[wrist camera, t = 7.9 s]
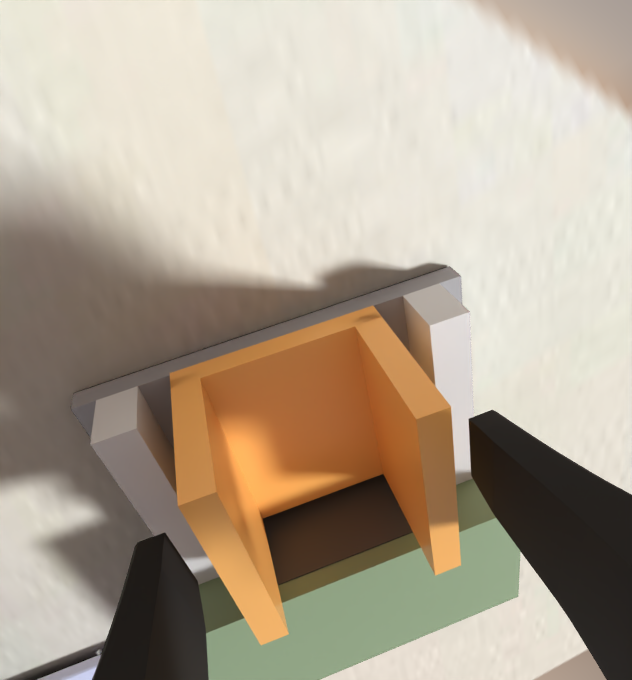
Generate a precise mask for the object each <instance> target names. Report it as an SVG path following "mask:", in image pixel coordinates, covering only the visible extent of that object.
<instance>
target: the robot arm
mask: <svg viewBox="0 0 632 680" xmlns="http://www.w3.org/2000/svg"><path fill="white" fill-rule="evenodd" d="M469 440H470V462H471V476H472V478H473V480H474V481H475V483H476V485H477V487H478V488H479V490H480V492H481V494H482V495H483V497H484V499H485V501H486V502H487V504H488V506H489V507H490V509H491V511H492V512H493V514H494V516H495V517H496V518H497V520H498V521H499V523H500V524H501V525H502V527H503V528H504V529H505V531H506V532H507V533H508V535H509V536H510V538H511V539H512V540H513V542H514V543H515V544H516V546H517V547H518V548H519V550H520V551H521V552H522V554H523V555H524V557H525V558H526V559H527V561H528V562H529V563H530V565H531V566H532V567H533V569H534V570H535V571H536V573H537V574H538V575H539V577H540V578H541V579H542V581H543V582H544V584H545V585H546V586H547V588H548V589H549V590H550V592H551V593H552V594H553V596H554V597H555V598H556V600H557V601H558V603H559V604H560V606H561V607H562V608H563V610H564V611H565V613H566V614H567V616H568V617H569V619H570V620H571V622H572V623H573V625H574V627H575V628H576V630H577V632H578V633H579V635H580V637H581V638H582V640H583V641H584V643H585V645H586V646H587V648H588V650H589V651H590V653H591V654H592V656H593V658H594V659H595V661H596V662H597V664H598V666H599V668H600V669H601V671H602V672H603V674H604V676H605V678H606V679H607V680H632V495H631V494H629V493H627V492H626V491H624V490H622V489H620V488H618V487H616V486H615V485H613V484H611V483H609V482H607V481H606V480H604V479H602V478H600V477H599V476H597V475H595V474H593V473H592V472H590V471H588V470H587V469H585V468H583V467H582V466H580V465H578V464H577V463H575V462H573V461H572V460H570V459H568V458H567V457H565V456H563V455H562V454H560V453H558V452H557V451H555V450H554V449H552V448H550V447H549V446H547V445H546V444H544V443H543V442H541V441H540V440H538V439H537V438H535V437H533V436H532V435H530V434H529V433H527V432H526V431H524V430H523V429H521V428H520V427H518V426H517V425H515V424H514V423H512V422H511V421H509V420H508V419H506V418H505V417H503V416H502V415H500V414H499V413H497V412H496V411H494V410H491V411H488V412H485V413H483V414H480V415H477V416H475V417H472V418H469ZM37 680H209V677H208V658H207V641H206V627H205V621H204V614H203V608H202V602H201V596H200V590H199V585H198V580H197V579H196V577H195V576H194V575H193V573H192V572H191V570H190V569H189V567H188V566H187V564H186V563H185V561H184V560H183V558H182V557H181V555H180V554H179V552H178V551H177V549H176V548H175V546H174V545H173V543H172V542H171V540H170V539H169V537H168V536H167V534H166V533H165V532H164V533H162V534H159V535H156V536H154V537H151V538H148V539H146V540H143V541H140V542H138V543H137V545H136V546H135V548H134V552H133V556H132V559H131V563H130V566H129V570H128V573H127V577H126V580H125V583H124V587H123V590H122V593H121V597H120V600H119V603H118V606H117V609H116V613H115V616H114V619H113V622H112V625H111V628H110V630H109V633H108V636H107V639H106V642H105V645H104V648H103V651H102V654H100V655H98V656H95V657H93V658H90V659H87V660H85V661H82V662H80V663H77V664H75V665H72V666H70V667H67V668H65V669H62V670H60V671H57V672H55V673H52V674H49V675H47V676H44V677H42V678H39V679H37Z"/></svg>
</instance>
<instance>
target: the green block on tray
mask: <svg viewBox="0 0 632 680" xmlns="http://www.w3.org/2000/svg"><path fill="white" fill-rule="evenodd" d="M370 306H374V307H375V308H376V310H377V311H378V312H379V314H380V315H381V316H382V318H383V319H384V320H385V321H386V323H387V324H388V325H389V327H390V328H391V329H392V331H393V332H394V333H395V334H396V336H397V337H398V338H399V340H400V341H401V342H402V344H403V345H404V346H405V347H406V349H407V350H408V351H409V353H410V354H411V355H412V357H413V358H414V359H415V360H416V362H417V363H418V364H419V366H420V367H421V368H422V370H423V371H424V372H425V373H426V375H427V376H428V377H429V379H430V380H431V381H432V383H433V384H434V385H435V386H436V388H437V389H438V390H439V392H440V393H441V394H442V396H443V397H444V398H445V399H446V401H447V402H448V403H449V405H450V406H451V413H452V428H453V444H454V460H455V476H456V492H457V508H458V524H459V540H460V556H461V566H458V567H456V568H453V569H451V570H448V571H446V572H443V573H441V574H438V575H436V576H435V574H434V572H433V570H432V568H431V566H430V564H429V563H428V561H427V559H426V557H425V555H424V553H423V551H422V549H421V547H420V545H419V543H418V541H417V539H416V537H415V535H414V533H413V531H412V529H411V527H410V525H409V523H408V521H407V519H406V517H405V515H404V514H403V512H402V510H401V508H400V506H399V504H398V502H397V500H396V498H395V496H394V494H393V492H392V490H391V488H390V486H389V484H388V482H387V480H386V478H385V476H384V474H381V475H379V476H376V477H373V478H371V479H368V480H365V481H363V482H360V483H357V484H354V485H352V486H349V487H346V488H344V489H341V490H338V491H336V492H333V493H330V494H328V495H325V496H322V497H320V498H317V499H314V500H312V501H309V502H306V503H303V504H301V505H298V506H295V507H293V508H290V509H287V510H285V511H282V512H279V513H277V514H274V515H271V516H269V517H266V518H263V522H264V527H265V531H266V535H267V540H268V544H269V549H270V553H271V557H272V562H273V566H274V571H275V575H276V580H277V584H278V588H279V593H280V597H281V602H282V606H283V610H284V615H285V619H286V624H287V628H288V632H289V634H288V635H286V636H283V637H281V638H278V639H276V640H273V641H271V642H268V643H266V644H263V645H260V643H259V642H258V640H257V638H256V636H255V635H254V633H253V631H252V630H251V628H250V626H249V625H248V623H247V621H246V620H245V618H244V616H243V615H242V613H241V611H240V610H239V608H238V606H237V605H236V603H235V601H234V600H233V598H232V596H231V595H230V593H229V591H228V590H227V588H226V586H225V585H224V583H223V581H222V579H221V578H220V576H219V574H218V573H217V571H216V569H215V568H214V566H213V564H212V563H211V561H210V559H209V558H208V556H207V554H206V553H205V551H204V549H203V548H202V546H201V544H200V543H199V541H198V539H197V538H196V536H195V534H194V533H193V531H192V529H191V527H190V526H189V524H188V522H187V521H186V519H185V517H184V516H183V514H182V512H181V511H180V509H179V507H178V503H177V487H176V470H175V454H174V437H173V421H172V404H171V388H170V373H171V372H174V371H177V370H180V369H183V368H186V367H189V366H192V365H195V364H198V363H201V362H204V361H207V360H210V359H213V358H216V357H220V356H223V355H226V354H229V353H232V352H235V351H238V350H241V349H244V348H247V347H250V346H253V345H256V344H259V343H262V342H265V341H268V340H271V339H274V338H277V337H280V336H283V335H286V334H289V333H292V332H295V331H298V330H301V329H304V328H307V327H310V326H313V325H316V324H319V323H322V322H325V321H328V320H331V319H334V318H337V317H340V316H343V315H346V314H349V313H352V312H355V311H358V310H361V309H364V308H367V307H370ZM71 410H72V412H73V413H74V415H75V416H76V417H77V419H78V420H79V422H80V423H81V425H82V426H83V428H84V429H85V430H86V432H87V433H88V435H89V436H90V438H91V442H90V445H91V447H92V448H93V449H94V451H95V452H96V454H97V455H98V457H99V458H100V459H101V461H102V462H103V464H104V465H105V467H106V468H107V469H108V471H109V472H110V474H111V475H112V477H113V478H114V479H115V481H116V482H117V484H118V485H119V487H120V488H121V489H122V491H123V492H124V494H125V495H126V497H127V498H128V499H129V501H130V502H131V504H132V505H133V507H134V508H135V509H136V511H137V512H138V514H139V515H140V517H141V518H142V520H143V521H144V522H145V524H146V525H147V527H148V528H149V530H150V531H151V532H152V534H153V535H154V536H156V535H159V534H162V533H164V532H165V533H166V534H167V536H168V537H169V539H170V540H171V542H172V543H173V545H174V546H175V548H176V549H177V551H178V552H179V554H180V555H181V557H182V558H183V560H184V561H185V563H186V564H187V566H188V567H189V569H190V570H191V572H192V573H193V575H194V576H195V577H196V579H197V580H198V585H199V590H200V596H201V602H202V608H203V614H204V621H205V627H206V641H207V658H208V677H209V680H320V679H322V678H325V677H327V676H329V675H332V674H334V673H337V672H339V671H341V670H344V669H346V668H349V667H351V666H353V665H356V664H358V663H361V662H363V661H365V660H368V659H370V658H372V657H375V656H377V655H380V654H382V653H384V652H387V651H389V650H392V649H394V648H396V647H399V646H401V645H404V644H406V643H408V642H411V641H413V640H415V639H418V638H420V637H423V636H425V635H427V634H430V633H432V632H435V631H437V630H439V629H442V628H444V627H447V626H449V625H451V624H454V623H456V622H459V621H461V620H463V619H466V618H468V617H470V616H473V615H475V614H478V613H480V612H482V611H485V610H487V609H490V608H492V607H494V606H497V605H499V604H502V603H504V602H506V601H509V600H511V599H513V598H516V597H518V590H519V569H520V550H519V548H518V547H517V546H516V544H515V543H514V542H513V540H512V539H511V538H510V536H509V535H508V533H507V532H506V531H505V529H504V528H503V527H502V525H501V524H500V523H499V521H498V520H497V518H496V517H495V516H494V514H493V512H492V511H491V509H490V507H489V506H488V504H487V502H486V501H485V499H484V497H483V495H482V494H481V492H480V490H479V488H478V487H477V485H476V483H475V481H474V480H473V478H472V476H471V462H470V440H469V418H472V417H474V406H473V380H472V353H471V327H470V311H469V310H468V309H466V308H465V307H464V306H463V305H462V287H461V276H460V275H459V274H458V273H457V272H456V271H455V270H453V269H452V268H451V267H450V266H449V267H446V268H443V269H440V270H437V271H434V272H431V273H428V274H425V275H422V276H419V277H416V278H414V279H411V280H408V281H405V282H402V283H399V284H396V285H393V286H390V287H387V288H384V289H381V290H378V291H375V292H372V293H369V294H366V295H363V296H360V297H357V298H354V299H351V300H348V301H345V302H343V303H340V304H337V305H334V306H331V307H328V308H325V309H322V310H319V311H316V312H313V313H310V314H307V315H304V316H301V317H298V318H295V319H292V320H289V321H286V322H283V323H280V324H277V325H275V326H272V327H269V328H266V329H263V330H260V331H257V332H254V333H251V334H248V335H245V336H242V337H239V338H236V339H233V340H230V341H227V342H224V343H221V344H218V345H215V346H212V347H209V348H207V349H204V350H201V351H198V352H195V353H192V354H189V355H186V356H183V357H180V358H177V359H174V360H171V361H168V362H165V363H162V364H159V365H156V366H153V367H150V368H147V369H144V370H141V371H138V372H136V373H133V374H130V375H127V376H124V377H121V378H118V379H115V380H112V381H109V382H106V383H103V384H100V385H97V386H94V387H91V388H88V389H85V390H82V391H79V392H76V393H74V395H73V400H72V405H71Z"/></svg>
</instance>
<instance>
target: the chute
mask: <svg viewBox="0 0 632 680" xmlns="http://www.w3.org/2000/svg"><path fill="white" fill-rule="evenodd" d="M170 388H171V404H172V421H173V437H174V454H175V470H176V487H177V503H178V507H179V509H180V511H181V512H182V514H183V516H184V517H185V519H186V521H187V522H188V524H189V526H190V527H191V529H192V531H193V533H194V534H195V536H196V538H197V539H198V541H199V543H200V544H201V546H202V548H203V549H204V551H205V553H206V554H207V556H208V558H209V559H210V561H211V563H212V564H213V566H214V568H215V569H216V571H217V573H218V574H219V576H220V578H221V579H222V581H223V583H224V585H225V586H226V588H227V590H228V591H229V593H230V595H231V596H232V598H233V600H234V601H235V603H236V605H237V606H238V608H239V610H240V611H241V613H242V615H243V616H244V618H245V620H246V621H247V623H248V625H249V626H250V628H251V630H252V631H253V633H254V635H255V636H256V638H257V640H258V642H259V643H260V645H263V644H266V643H268V642H271V641H273V640H276V639H278V638H281V637H283V636H286V635H288V634H289V632H288V628H287V624H286V619H285V615H284V610H283V606H282V602H281V597H280V593H279V588H278V584H277V580H276V575H275V571H274V566H273V562H272V557H271V553H270V549H269V544H268V540H267V535H266V531H265V527H264V522H263V518H266V517H269V516H271V515H274V514H277V513H279V512H282V511H285V510H287V509H290V508H293V507H295V506H298V505H301V504H303V503H306V502H309V501H312V500H314V499H317V498H320V497H322V496H325V495H328V494H330V493H333V492H336V491H338V490H341V489H344V488H346V487H349V486H352V485H354V484H357V483H360V482H363V481H365V480H368V479H371V478H373V477H376V476H379V475H381V474H384V476H385V478H386V480H387V482H388V484H389V486H390V488H391V490H392V492H393V494H394V496H395V498H396V500H397V502H398V504H399V506H400V508H401V510H402V512H403V514H404V515H405V517H406V519H407V521H408V523H409V525H410V527H411V529H412V531H413V533H414V535H415V537H416V539H417V541H418V543H419V545H420V547H421V549H422V551H423V553H424V555H425V557H426V559H427V561H428V563H429V564H430V566H431V568H432V570H433V572H434V574H435V576H436V575H438V574H441V573H443V572H446V571H448V570H451V569H453V568H456V567H458V566H461V556H460V540H459V524H458V508H457V492H456V476H455V460H454V444H453V428H452V413H451V406H450V405H449V403H448V402H447V401H446V399H445V398H444V397H443V396H442V394H441V393H440V392H439V390H438V389H437V388H436V386H435V385H434V384H433V383H432V381H431V380H430V379H429V377H428V376H427V375H426V373H425V372H424V371H423V370H422V368H421V367H420V366H419V364H418V363H417V362H416V360H415V359H414V358H413V357H412V355H411V354H410V353H409V351H408V350H407V349H406V347H405V346H404V345H403V344H402V342H401V341H400V340H399V338H398V337H397V336H396V334H395V333H394V332H393V331H392V329H391V328H390V327H389V325H388V324H387V323H386V321H385V320H384V319H383V318H382V316H381V315H380V314H379V312H378V311H377V310H376V308H375V307H374V306H370V307H367V308H364V309H361V310H358V311H355V312H352V313H349V314H346V315H343V316H340V317H337V318H334V319H331V320H328V321H325V322H322V323H319V324H316V325H313V326H310V327H307V328H304V329H301V330H298V331H295V332H292V333H289V334H286V335H283V336H280V337H277V338H274V339H271V340H268V341H265V342H262V343H259V344H256V345H253V346H250V347H247V348H244V349H241V350H238V351H235V352H232V353H229V354H226V355H223V356H220V357H216V358H213V359H210V360H207V361H204V362H201V363H198V364H195V365H192V366H189V367H186V368H183V369H180V370H177V371H174V372H171V373H170Z"/></svg>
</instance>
